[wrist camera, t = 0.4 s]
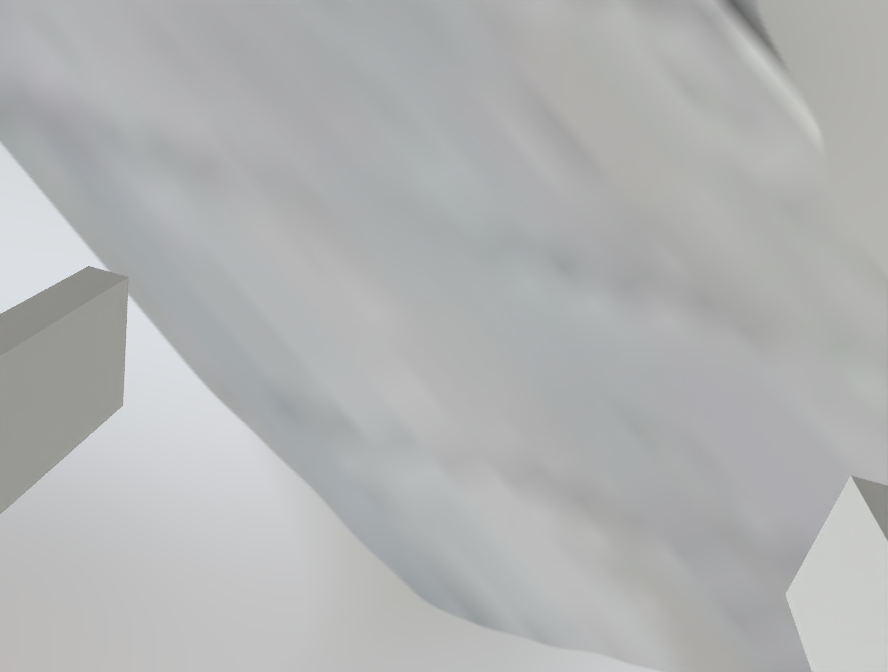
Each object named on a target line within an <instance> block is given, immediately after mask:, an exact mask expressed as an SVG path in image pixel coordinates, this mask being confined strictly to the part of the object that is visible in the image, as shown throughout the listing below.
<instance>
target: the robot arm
mask: <svg viewBox="0 0 888 672" xmlns="http://www.w3.org/2000/svg"><path fill="white" fill-rule="evenodd" d="M127 300H128V277H126V276H123V275H119V274H115V273H112V272H108V271H104V270H101V269H97V268H94V267H90V266H88V267H86V268H85V269H83V270H81V271H79V272H77V273H75V274H73V275H72V276H70V277H68V278H66V279H64V280H62V281H61V282H59V283H57V284H55V285H54V286H51V287H49V288H48V289H46V290H44V291H42V292H40V293H38V294H37V295H35V296H33V297H31V298H29V299H27V300H26V301H24V302H22V303H20V304H18V305H16V306H15V307H13V308H11V309H9V310H7V311H5V312H3V313H2V314H0V514H1V513H2V512H3V511H4V510H6V509H7V508H8V507H9V506H10V505H11V504H12V503H13V502H15V501H16V500H17V499H18V498H19V497H20V496H21V495H22V494H24V493H25V492H26V491H27V490H28V489H29V488H30V487H32V486H33V485H34V484H35V483H36V482H37V481H38V480H39V479H41V478H42V477H43V476H44V475H45V474H46V473H47V472H48V471H50V470H51V469H52V468H53V467H54V466H55V465H56V464H57V463H59V462H60V461H61V460H62V459H63V458H64V457H65V456H66V455H68V454H69V453H70V452H71V451H72V450H73V449H74V448H76V447H77V446H78V445H79V444H80V443H81V442H82V441H83V440H85V439H86V438H87V437H88V436H89V435H90V434H91V433H92V432H94V431H95V430H96V429H97V428H98V427H99V426H100V425H101V424H103V423H104V422H105V421H106V420H107V419H108V418H109V417H110V416H112V415H113V414H114V413H115V412H116V411H117V410H118V409H120V408H121V407H122V406H123V393H124V370H125V369H124V368H125V346H126V324H127ZM786 597H787V600H788V603H789V606H790V609H791V612H792V615H793V618H794V621H795V624H796V627H797V630H798V633H799V635H800V638H801V641H802V644H803V647H804V650H805V653H806V656H807V659H808V662H809V665H810V668H811V671H812V672H888V486H886V485H883V484H879V483H875V482H872V481H868V480H865V479H861V478H857V477H854V476H850V478H849V480H848V482H847V483H846V485H845V487H844V489H843V491H842V493H841V494H840V496H839V498H838V500H837V502H836V503H835V505H834V507H833V509H832V511H831V513H830V514H829V516H828V518H827V520H826V522H825V523H824V525H823V527H822V529H821V531H820V533H819V534H818V536H817V538H816V540H815V542H814V544H813V545H812V547H811V549H810V551H809V553H808V554H807V556H806V558H805V560H804V562H803V564H802V565H801V567H800V569H799V571H798V573H797V574H796V576H795V578H794V580H793V582H792V584H791V585H790V587H789V589H788V591H787V593H786Z"/></svg>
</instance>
